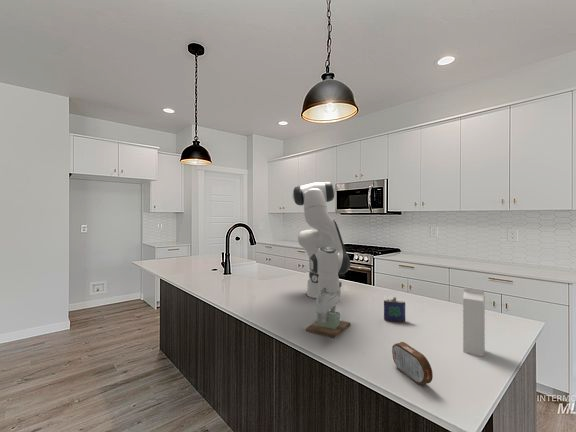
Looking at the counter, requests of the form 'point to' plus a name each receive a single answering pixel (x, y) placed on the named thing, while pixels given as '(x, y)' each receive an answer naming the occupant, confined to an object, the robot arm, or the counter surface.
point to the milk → (474, 321)
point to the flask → (394, 310)
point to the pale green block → (329, 320)
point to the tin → (412, 363)
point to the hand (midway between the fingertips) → (328, 318)
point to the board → (328, 329)
